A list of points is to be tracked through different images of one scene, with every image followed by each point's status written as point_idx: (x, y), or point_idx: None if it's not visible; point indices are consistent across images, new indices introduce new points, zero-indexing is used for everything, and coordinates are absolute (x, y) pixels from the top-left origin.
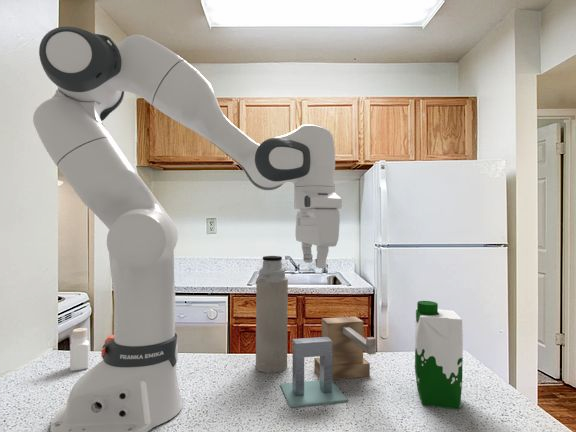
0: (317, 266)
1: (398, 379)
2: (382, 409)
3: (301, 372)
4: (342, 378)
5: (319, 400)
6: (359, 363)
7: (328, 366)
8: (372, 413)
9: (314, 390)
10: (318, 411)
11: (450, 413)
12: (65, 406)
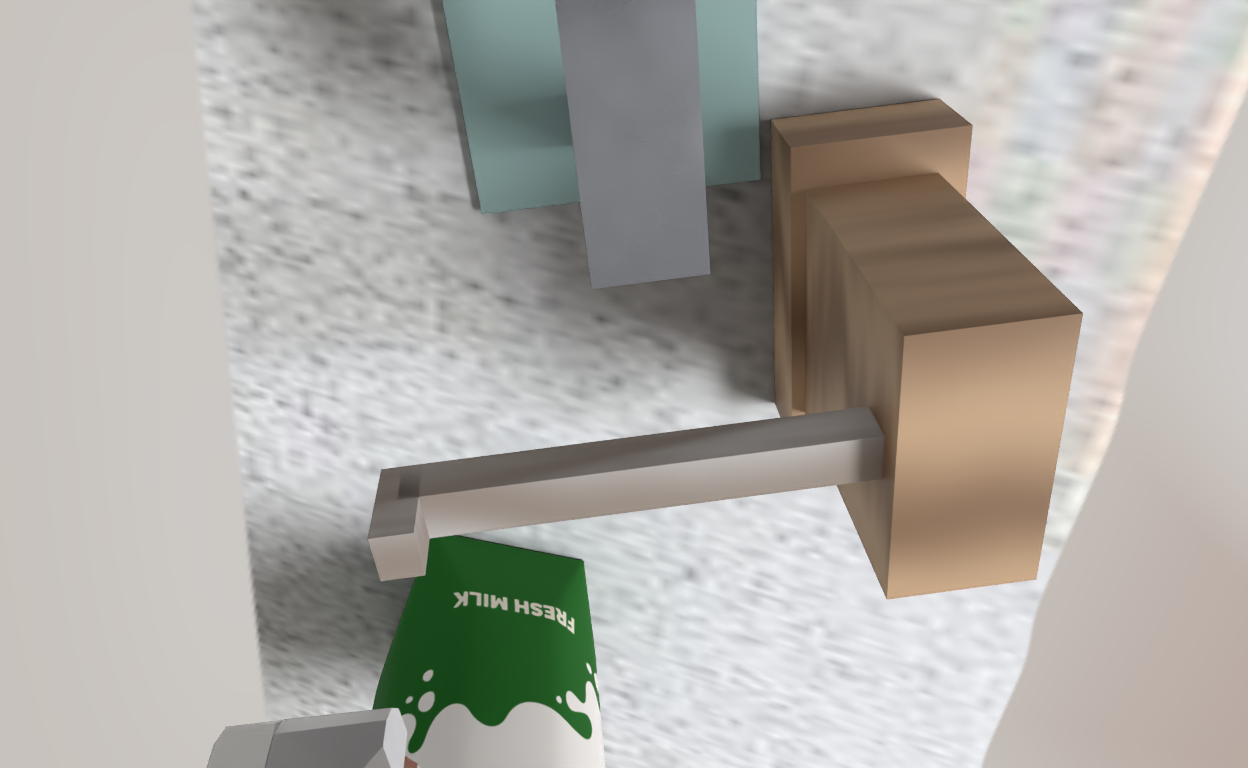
0: (225, 737)
1: (708, 520)
2: (395, 359)
3: None
4: (773, 251)
5: (476, 46)
6: (804, 391)
7: (577, 181)
8: (354, 302)
9: None
10: (369, 15)
11: (363, 600)
12: None
